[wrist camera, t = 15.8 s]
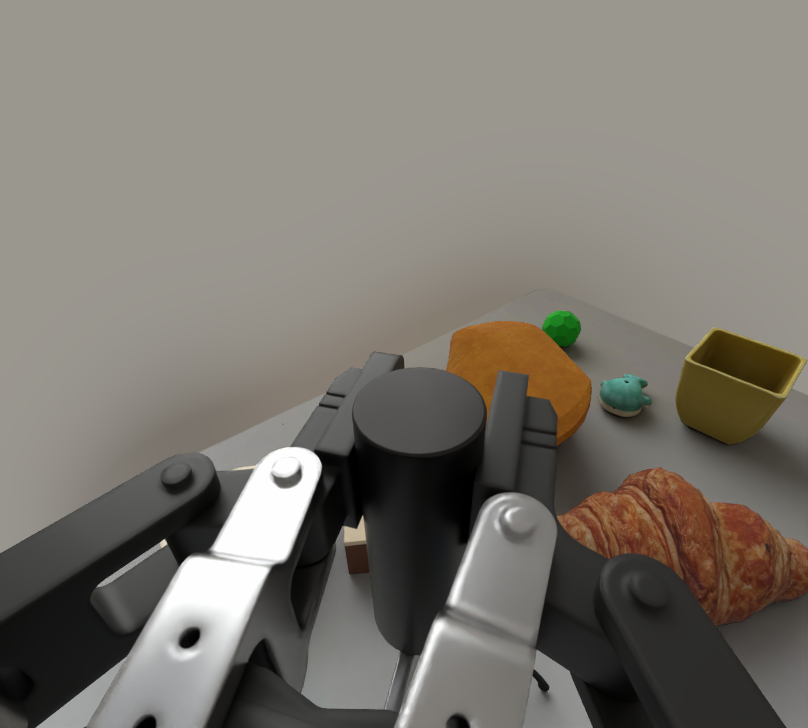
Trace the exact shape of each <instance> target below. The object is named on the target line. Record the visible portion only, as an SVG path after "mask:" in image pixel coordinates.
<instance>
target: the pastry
mask: <svg viewBox="0 0 808 728" xmlns="http://www.w3.org/2000/svg"><path fill="white" fill-rule="evenodd" d="M556 516H557V518H558V520H559V522H560V524H561V525H562V527H563V528H564V529H565V531H566V532H567V533H568V534H569V535H570V536H571V537H572V538H574V539H575V540H576V541H578V542H579V543H581V544H582V545H584V546H586V547H587V548H589V549H591V550H593V551H595V552H597V553H599V554H601V555H603V556H604V557H606V558H608V559H611V558H613V557H615V556H617V555H620V554H626V553H635V554H641V555H646V556H648V557H651V558H654V559H656V560H658V561H660V562H662V563H663V564H665V565H667V566H668V567H669V568H671V569H672V570H673V571H674V572H676V573H677V574H678V575H679V576H680V577H681V578H682V580H683V581H684V582H685V583H686V585H687V586H688V587H689V589H690V590H691V592H692V593H693V595H694V596H695V597H696V599H697V600H698V602H699V603H700V605H701V606H702V607H703V609H704V610H705V612H706V613H707V615H708V616H709V618H710V619H711V620H712V622H713V623H714V625H715V626H719V625H724V624H730V623H733V622H742V621H743V620H745V619H747V618H749V617H750V616H751V615H752V614H753V613H754V612H755V611H761V610H762V609H763V608H764V607H765V606H766V605H768V604H769V603H771V602H786V601H790V600H794V599H797V598H799V597H800V596H802V595H804V594H806V593H807V592H808V549H807V548H806V547H805V546H804V545H803V544H801V543H800V542H799V541H798V540H794V539H790V538H783V536H782V535H781V534H780V533H779V532H778V531H777V530H776V529H774V528H773V527H772V526H771V525H770V524H769V523H768V522H767V521H765V520H763V519H762V518H761V516H760V515H759V514H757V513H755V512H753V511H752V510H750V509H749V508H748V507H747V506H744V505H739V504H729V503H713V502H712V503H710V502H709V501H708V499H707V498H706V497H704V496H703V495H702V493H701V492H700V491H699V490H698V489H696V488H695V487H693V486H692V485H691V484H690V483H688V482H686V481H685V480H684V479H683V478H682V477H681V476H680V475H678V474H676V473H673V472H668V471H666V470H663V469H662V468H661V467H659V468H654V469H647V470H643V471H640V472H638V473H635V474H630V475H629V476H628V477H627V478H626V479H625V480H624V482H623V484H621V486H620V487H619V488H618V489H617V490H615V491H614V492H612V493H610V492H606V491H603V492H597V493H595V494H593V495H591V496H588V497H587V498H586V499H585V500H583V501H582V502H581V503H580V505H578V506H576V507H574V508H572V509H571V510H570V511H569V512H568V513H564V514H562V515H561V516H558V515H556Z"/></svg>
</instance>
